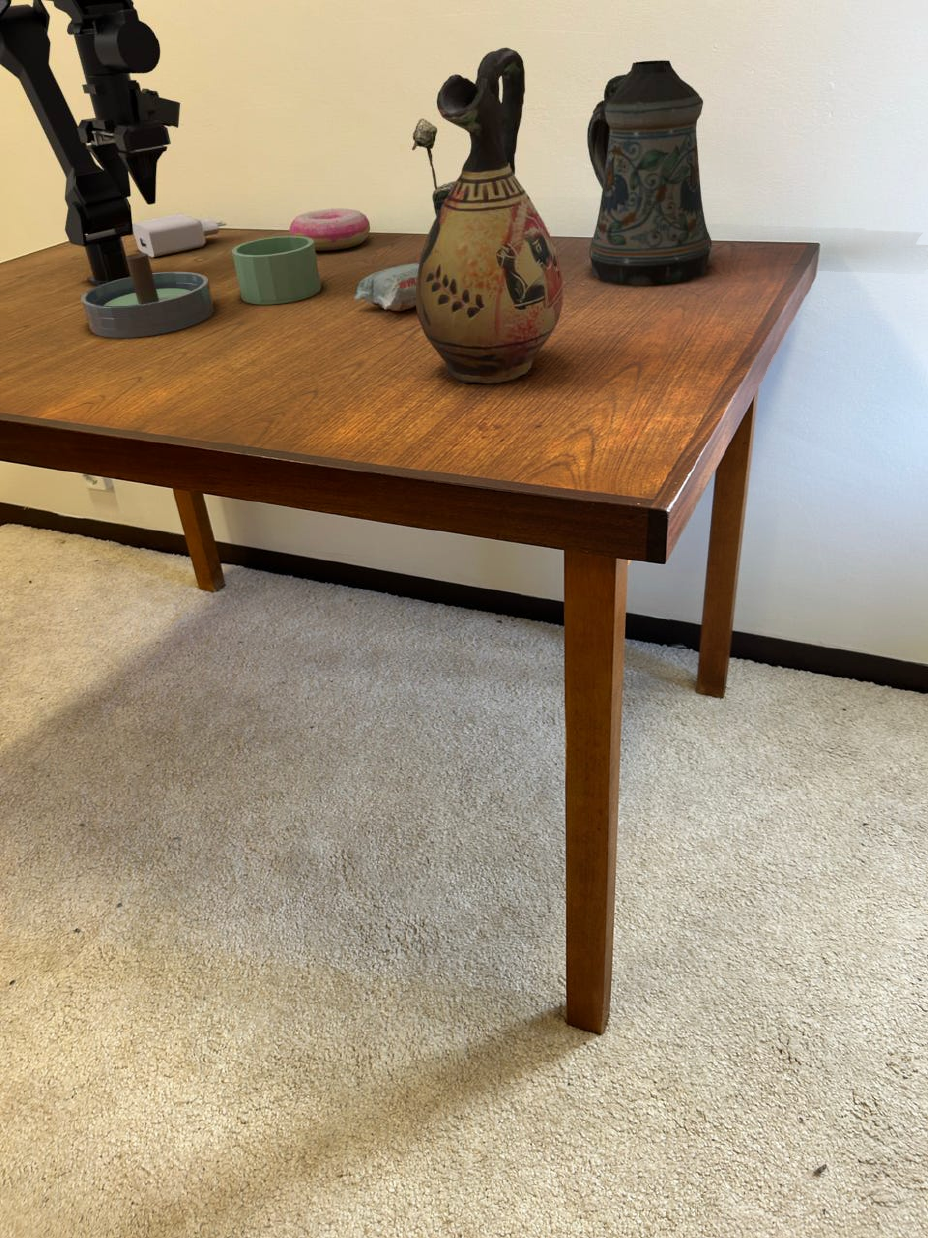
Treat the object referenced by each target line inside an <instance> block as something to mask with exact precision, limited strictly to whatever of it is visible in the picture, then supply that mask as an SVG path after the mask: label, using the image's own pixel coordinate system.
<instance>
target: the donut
mask: <svg viewBox="0 0 928 1238" xmlns="http://www.w3.org/2000/svg"><path fill="white" fill-rule="evenodd" d="M370 223H371V222H370V220H369V219H368V217H367V215H366V214H364V213H363V212H362V211H360V210H357V209H352V208H342V207H341V208H337V207H335V208H325V209H317V210H312V211H308V212H304V213H301V214H299V215H297V216H296V217H294V218H293V219H292V221H291V223H290V225H289V229H288V230H289V236H304V237H307V238H311V239H312V240H313V241H314V245H315V251H316V252H317V251H318V252H322V251H323V252H324V251H337V250H345V249H348V248H352V247H355V246H358V245H360V244H362V243H363V242H365V240H367V238H368V237H369V235H370V231H371V224H370Z"/></svg>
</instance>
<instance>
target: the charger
mask: <svg viewBox="0 0 928 1238" xmlns="http://www.w3.org/2000/svg"><path fill="white" fill-rule="evenodd" d="M132 225H133V235H134V238H135V243H136V245H137V248H138V250H139V252H140V253H146V254H148V257H151V258H157V257H160V256H161V257H162V256H167V255H171V254H175V253H179V252H180V253H181V252H185V251H189V250H195V249H200V248H203V247H204V245H205V244H206V243H207V242H206V237H208V236H213V235H217V234H218V233H219V231H220V227H224V226H227V222H223V221H221V220H220V221H215V219H211V218H205V219H198V218H195V217H192V216H190V215H188V214H184V213H177V214H172V215H167V216H162V217H156V218H152V219H147V220H146V219H145V220H141V221H135V222H132Z"/></svg>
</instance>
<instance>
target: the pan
mask: <svg viewBox="0 0 928 1238" xmlns="http://www.w3.org/2000/svg"><path fill="white" fill-rule="evenodd" d="M152 274H153V278H154V282H155V286H156V289H166V288H177V289H185V290H189V291H191V292H189V293H186V294H183V295H180V296H178V297H174V298H170V299H166V300H162V301H157V302H152V303H146V304H139V305H130V306H104V305H105V304H106V303H108V302H109V301H111V300H113V299H116V298H118V297H121V296H124V295H128V294H132V293H135V289H134V285H133V282H132V278H131V277H127V278H123V279H119V280H115V281H112V282H108V283H105V284H102V285H100V286H97V285H96V286H95V287H93V288H91V289H88V291H85V292H84V293H83V294H82V296H81V297H80V300H81V303H82V308H83V310H84V313H85V317H86V321H87V322H88V327H89V329H90V331H91V333H93V334H94V335H97V336H100V337H104V338H110V339H111V338H112V339H133V338H135V339H136V338H145V337H152V336H153V337H154V336H159V335H164V334H169V333H172V332H176V331H179V330H183V329H187V328H189V327H192V326H195V325H197V324H199V323H202V322H203V321H206V320H207V319H209V318H210V317H211V316H212V315H213V314H214V312H215V306H214V302H213V295H212V291H211V286H210V281H209V279H208V278H207V276H206V275H203V274H201V273H196V272H190V271H162V272H161V271H160V272H152Z"/></svg>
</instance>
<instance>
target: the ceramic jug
mask: <svg viewBox="0 0 928 1238" xmlns="http://www.w3.org/2000/svg"><path fill="white" fill-rule="evenodd" d="M478 65H479V66H478V67H477V70H476V71H477V74H476V79H475V82H473V81H471V79H469V78H468V77H463V76H462V75H461V74H457V73H456V74H452V75H450V76H449V77H448V78H447V80H445V81H444V82H443V83H442V86H441V87H440V89H439V91H438V93H437V97H436V106H437V111H438V112H439V114H440V116H441V118H442V119H444V120H446V121H447V122H449V123H451V124H453V125H455V126H457V127H459V128H461V129H463V130H465V131H466V132H467V133H468V134H469V139H470V150H469V154H468V156H467V158H466V160H464V162H463V165H462V167H461V173H460V175H459V176H458V177H457V179H456V180H455V181H456V182H455V184H454V185H453V187H452V188H451V190H450V192H449V194H448V196H447V198H446V199H445V201H444V203H443V205H442V206H441V208H440V211H439V213H438V215H437V217H436V216H435V219H434V221H433V223H432V225H431V228H430V230H429V231H428V234H427V236H426V239H425V242H424V245H423V248H422V250H421V253H420V256H419V257H420V258H419V262H418V264H419V268H418V274H417V281H416V295H415V301H416V307H415V309H416V314H417V319H418V321H419V324H420V326H421V329H422V331H423V334H424V335H425V337H426V339H427V340H428V342H429V343H430V345H431V346H432V348H433V349H434V350H435V351H436V353H437V354H438V355H439V357H441V358H442V360H443V362H444V363H445V364H446V365H447V367H446V369H445V371H446V373H447V374H448V375H449V376H450V377H451V378H452V379H453V380H455V381H458V382H461V383H463V384H471V383H477V384H497V383H498V384H499V383H504V382H509V381H513V380H516V379H517V378H519V377H521V376H523V375H526V374H527V373H528V372H529V370H530V369H531V368H532V365H533V361H534V359H535V357H536V356H537V355H538V353H539V351H540V349H542V347H543V346H544V345H545V344H546V342H547V341H548V340H549V338H550V336H551V335H552V333H553V331H554V330H555V328H556V327H557V325H558V322H559V320H560V316H561V313H562V308H563V306H564V305H563V304H564V303H563V302H564V301H563V300H564V287H563V286H564V284H563V283H564V282H563V275H562V268H561V264H560V260H559V256H558V252H557V249H556V247H555V244H554V241H553V239H552V237H551V234H550V231H549V230H548V228H547V226H546V224H545V222H544V220H543V219H542V217H541V216H540V213H539V212H538V210H537V208H536V207H535V204H534V202H532V199H531V197H530V196H529V195H528V193H527V191H526V190H525V189H524V187H523V186H522V185H521V183H520V181H519V180H518V178H517V177H516V163H515V158H516V153H517V146H518V136H519V131H520V126H521V122H522V117H523V107H524V101H525V99H524V98H525V94H526V73H525V72H526V71H525V66H524V65H525V64H524V60H523V58H522V56H521V54H520V53H519V51H517V50H514V49H511V48H509V47H501V48H499V49H496V50H492V51H490V52H488V53H486V54H485V55H484V57H482V58H481V61H480V63H479V64H478ZM500 78H501V86H502V96H501V99H500Z"/></svg>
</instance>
